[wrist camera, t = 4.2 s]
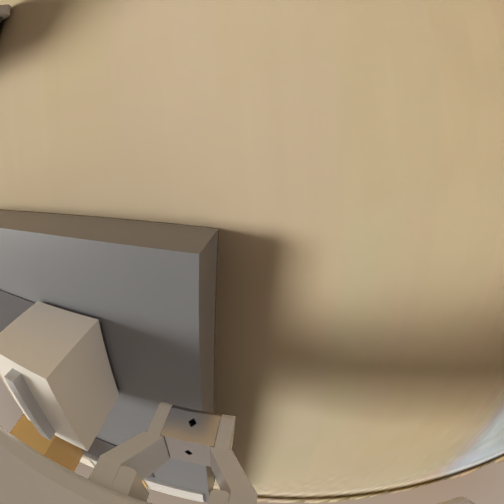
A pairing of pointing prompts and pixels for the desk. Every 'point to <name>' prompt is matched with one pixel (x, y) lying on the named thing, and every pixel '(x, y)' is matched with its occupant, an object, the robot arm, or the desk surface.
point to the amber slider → (47, 444)
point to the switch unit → (126, 315)
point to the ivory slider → (58, 372)
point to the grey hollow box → (4, 12)
